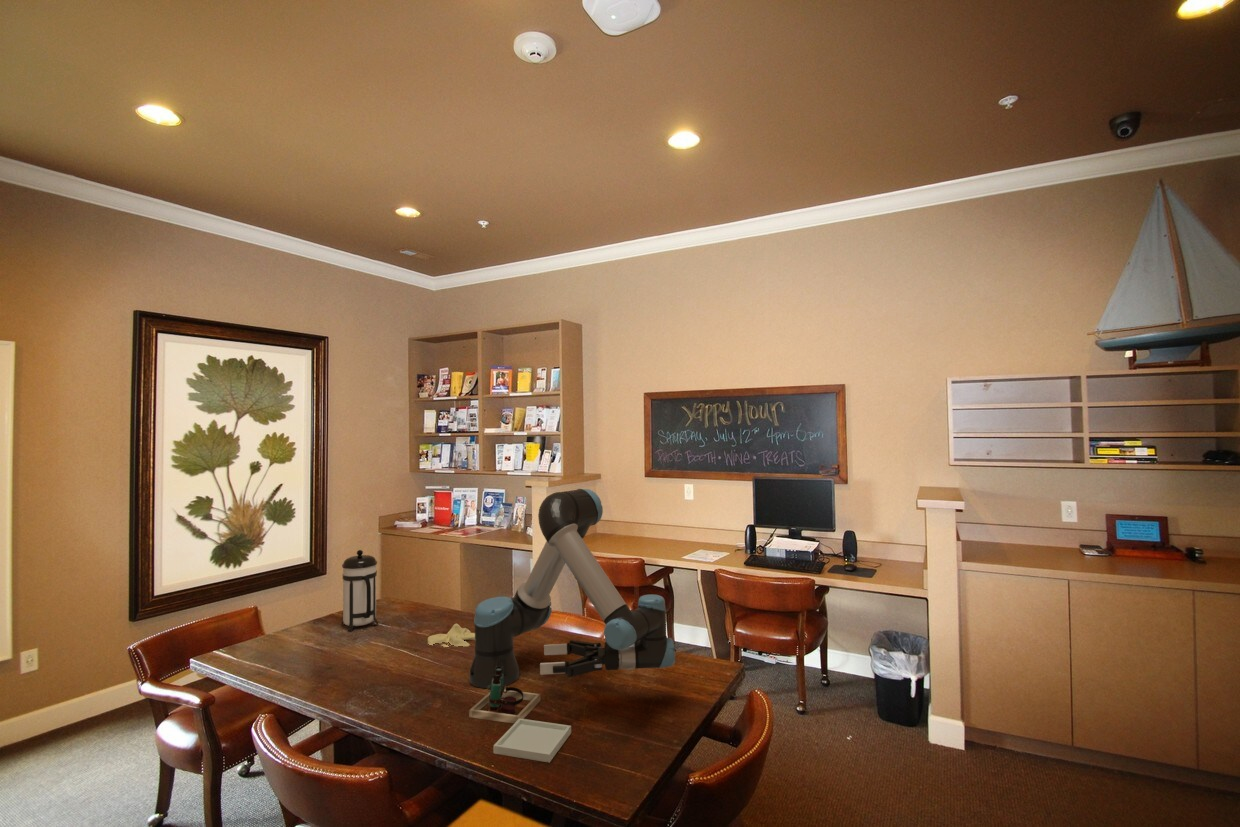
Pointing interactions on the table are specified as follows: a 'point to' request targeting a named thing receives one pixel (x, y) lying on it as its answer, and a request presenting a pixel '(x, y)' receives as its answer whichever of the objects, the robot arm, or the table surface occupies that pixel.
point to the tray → (532, 740)
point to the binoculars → (497, 692)
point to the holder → (501, 717)
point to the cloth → (453, 637)
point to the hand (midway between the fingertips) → (542, 659)
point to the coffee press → (359, 590)
